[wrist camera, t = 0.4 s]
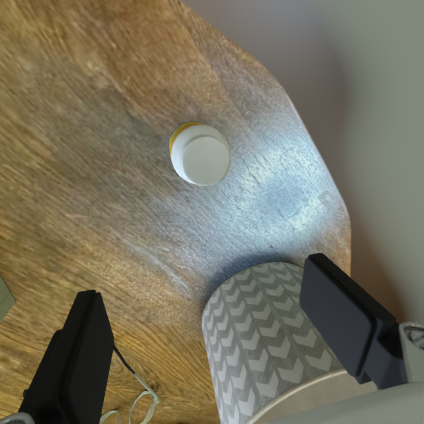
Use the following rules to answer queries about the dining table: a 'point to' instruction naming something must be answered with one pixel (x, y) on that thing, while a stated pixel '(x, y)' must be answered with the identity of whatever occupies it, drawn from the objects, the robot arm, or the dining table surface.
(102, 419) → the eyeglasses
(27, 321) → the dining table surface
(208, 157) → the supplement bottle
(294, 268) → the planter
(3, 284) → the socket block
